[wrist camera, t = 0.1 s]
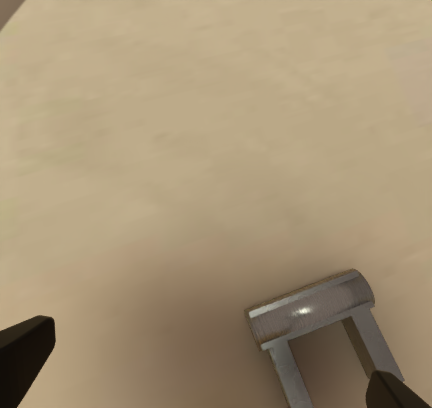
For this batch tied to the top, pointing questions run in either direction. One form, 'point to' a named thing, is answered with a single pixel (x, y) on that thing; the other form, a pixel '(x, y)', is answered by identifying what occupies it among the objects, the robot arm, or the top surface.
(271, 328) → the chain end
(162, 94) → the top surface
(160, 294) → the top surface
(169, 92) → the top surface
